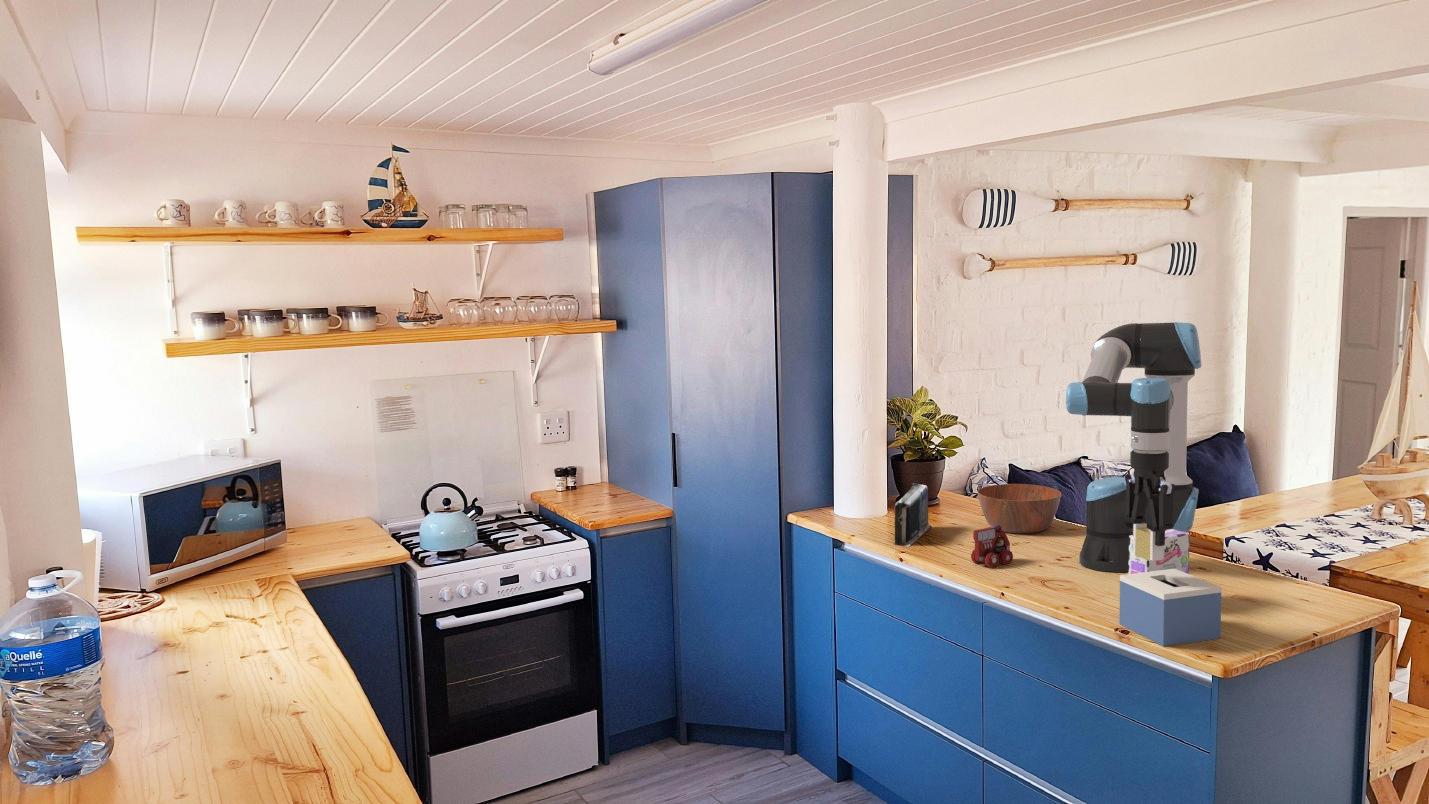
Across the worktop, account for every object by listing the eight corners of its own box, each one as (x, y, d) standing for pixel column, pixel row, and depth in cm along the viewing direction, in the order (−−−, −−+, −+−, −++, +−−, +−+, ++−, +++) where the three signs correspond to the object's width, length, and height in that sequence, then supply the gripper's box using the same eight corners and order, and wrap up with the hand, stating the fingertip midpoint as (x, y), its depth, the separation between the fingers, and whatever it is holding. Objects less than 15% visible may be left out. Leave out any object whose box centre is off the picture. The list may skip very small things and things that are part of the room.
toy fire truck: (1018, 562, 256) (1018, 525, 255) (984, 570, 251) (984, 532, 250) (999, 556, 263) (999, 520, 261) (966, 564, 257) (966, 527, 256)
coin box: (1119, 623, 208) (1119, 575, 206) (1173, 616, 211) (1174, 568, 210) (1163, 646, 194) (1164, 594, 193) (1220, 638, 197) (1221, 586, 196)
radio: (907, 548, 275) (907, 498, 273) (880, 544, 280) (879, 496, 278) (938, 530, 294) (937, 483, 292) (912, 527, 299) (911, 481, 297)
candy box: (1147, 609, 216) (1148, 540, 214) (1126, 602, 221) (1127, 534, 220) (1189, 599, 222) (1190, 532, 220) (1168, 592, 227) (1169, 526, 225)
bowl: (1069, 522, 296) (1069, 487, 295) (1050, 541, 276) (1050, 503, 274) (990, 515, 310) (990, 481, 309) (967, 533, 289) (966, 496, 288)
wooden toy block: (1135, 555, 205) (1135, 528, 204) (1144, 554, 205) (1145, 527, 204) (1149, 561, 200) (1150, 533, 199) (1159, 560, 200) (1160, 533, 200)
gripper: (1108, 445, 208) (1107, 547, 210) (1162, 458, 190) (1160, 569, 193) (1138, 442, 209) (1137, 544, 212) (1194, 455, 192) (1192, 565, 194)
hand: (1148, 555), depth 202 cm, fingers closed on wooden toy block, 5 cm apart
